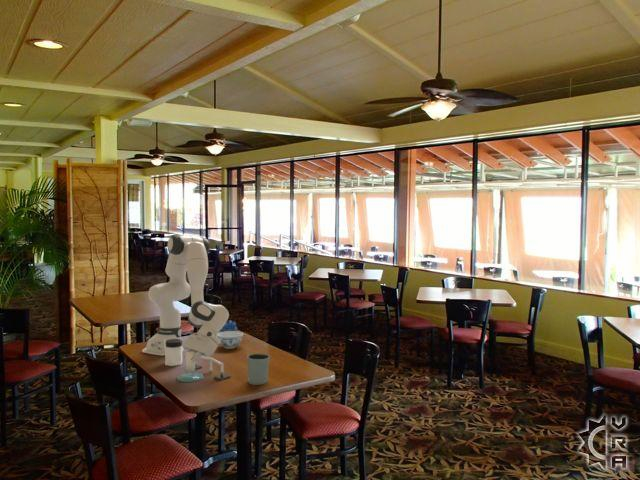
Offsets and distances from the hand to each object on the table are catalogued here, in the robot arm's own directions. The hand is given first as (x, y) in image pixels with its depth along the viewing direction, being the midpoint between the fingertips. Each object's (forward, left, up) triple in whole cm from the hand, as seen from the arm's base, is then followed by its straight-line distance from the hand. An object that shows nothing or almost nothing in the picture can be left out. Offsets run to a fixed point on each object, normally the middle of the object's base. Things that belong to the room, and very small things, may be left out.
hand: (189, 359), depth 236 cm
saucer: (0, +1, -9) cm, 9 cm away
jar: (-19, +19, -9) cm, 28 cm away
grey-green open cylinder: (+33, +5, -9) cm, 34 cm away
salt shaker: (0, +1, -5) cm, 5 cm away
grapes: (-14, +73, -9) cm, 75 cm away
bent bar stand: (+4, +10, -9) cm, 14 cm away
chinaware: (-5, +57, -9) cm, 58 cm away
